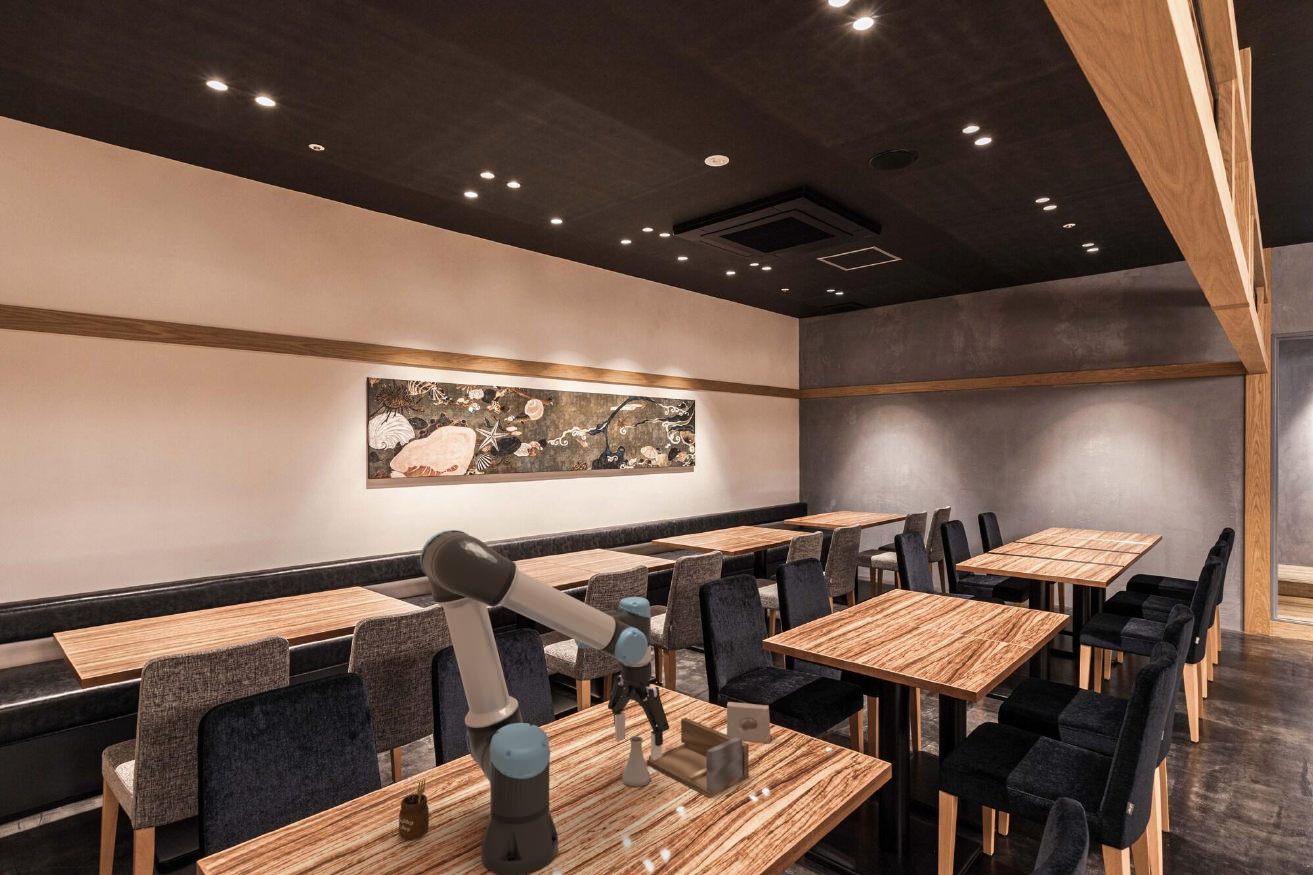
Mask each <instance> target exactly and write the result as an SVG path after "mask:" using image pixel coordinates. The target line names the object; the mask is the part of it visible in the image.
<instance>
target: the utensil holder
mask: <svg viewBox="0 0 1313 875" xmlns="http://www.w3.org/2000/svg"><path fill="white" fill-rule="evenodd" d="M412 778H413V779H415V777H413V776H408V777H406V781H407V782H406V781H404V784H406V783H407V786H409V785H410V784H409V783H410V782H409V781H410V780H409V779H411V783H413V782H414V783H415V788H414V787H412V794H410V790H406V788H407V786H404V790H405V791H404V793H407V791H408V795H406V796H405V797H403V798H402V800H401V803H400V810H399V814H398V834H399V837H400V838H401V839H403V840H405V841H413V840H414V841H415V840H417V839H420V838H422V837H424V836H425V835H426V834H427V833H428V830H429V826H430V825H429V824H430V822H429V821H430V820H429V819H430V811H429V805H428V798H427V795H425V794H424V793H425V789H426V788H425V787H426V780H427V779H422V780H421V781H419V782H418V785H417V783H416V780H414V781H413V779H412ZM414 789H415V790H414ZM415 791H416V792H415Z"/></svg>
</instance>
